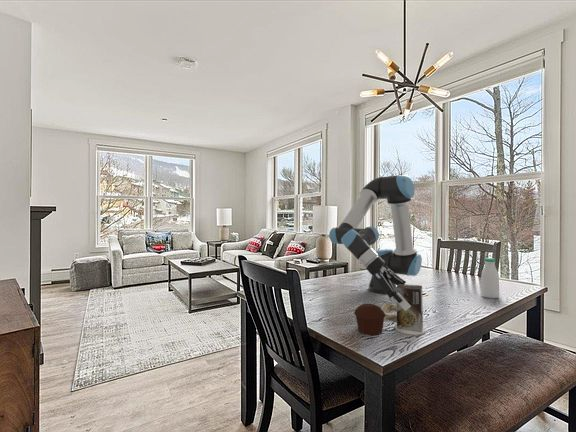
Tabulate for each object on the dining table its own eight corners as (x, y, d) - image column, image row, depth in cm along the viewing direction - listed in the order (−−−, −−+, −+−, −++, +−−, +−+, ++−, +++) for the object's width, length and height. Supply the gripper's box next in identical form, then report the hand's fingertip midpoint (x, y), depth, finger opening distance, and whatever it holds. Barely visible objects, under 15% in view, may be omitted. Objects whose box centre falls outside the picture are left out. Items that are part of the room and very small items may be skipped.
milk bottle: (501, 299, 158) (501, 259, 158) (484, 298, 160) (484, 259, 159) (494, 294, 166) (494, 257, 165) (478, 294, 167) (478, 257, 167)
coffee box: (423, 326, 121) (423, 285, 121) (421, 332, 116) (421, 289, 115) (398, 323, 125) (398, 283, 125) (396, 328, 120) (395, 286, 119)
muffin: (390, 330, 120) (390, 304, 120) (377, 339, 112) (377, 311, 111) (362, 323, 128) (362, 298, 127) (348, 331, 119) (348, 305, 119)
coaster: (391, 331, 119) (391, 329, 119) (398, 322, 128) (398, 320, 128) (423, 337, 113) (423, 335, 113) (427, 327, 122) (427, 325, 122)
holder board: (376, 317, 134) (375, 312, 134) (385, 307, 148) (385, 302, 148) (415, 323, 126) (415, 318, 126) (421, 312, 140) (421, 307, 140)
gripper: (373, 262, 139) (409, 300, 132) (355, 273, 118) (397, 319, 111) (386, 251, 136) (423, 289, 129) (369, 260, 115) (413, 306, 108)
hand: (411, 303), depth 120 cm, fingers open, 13 cm apart
